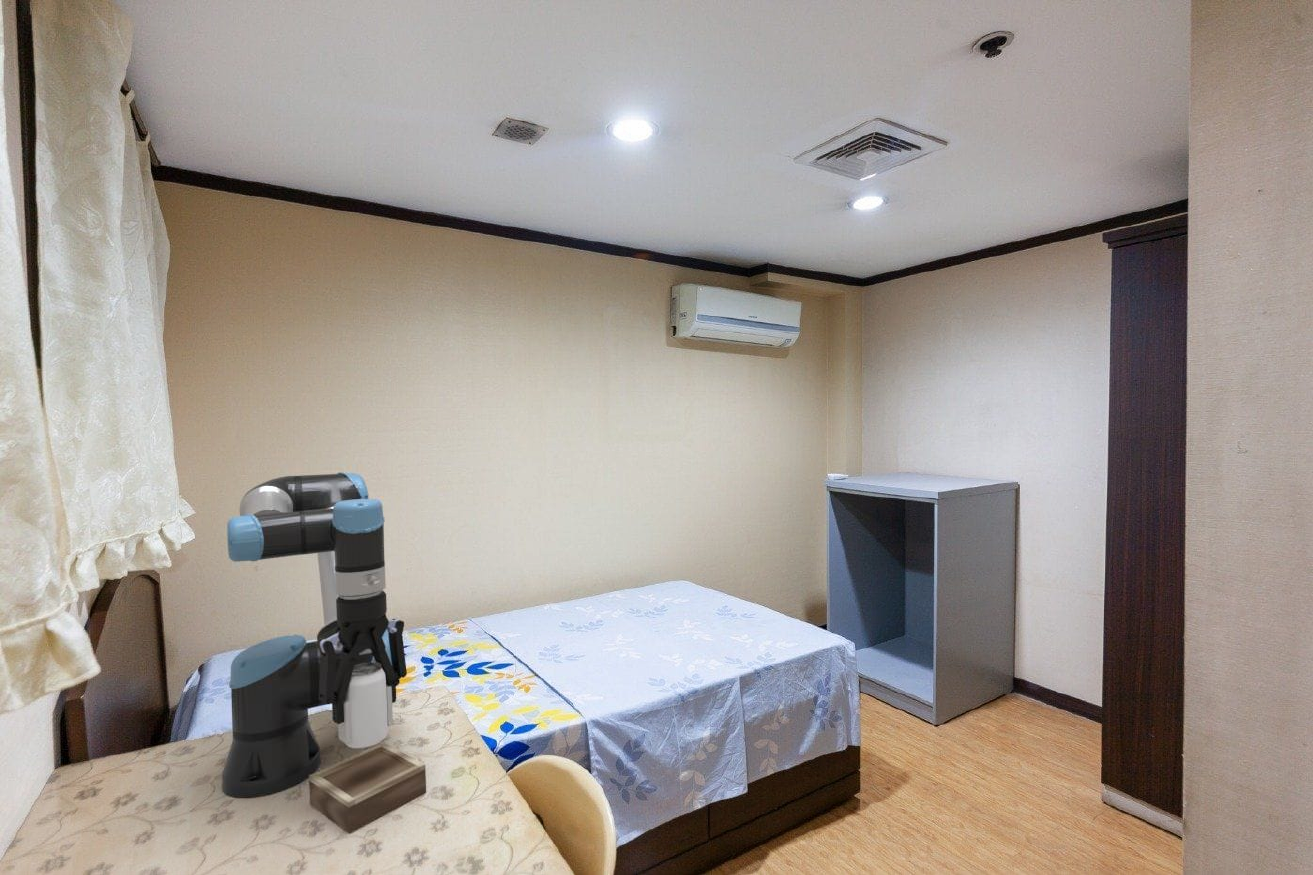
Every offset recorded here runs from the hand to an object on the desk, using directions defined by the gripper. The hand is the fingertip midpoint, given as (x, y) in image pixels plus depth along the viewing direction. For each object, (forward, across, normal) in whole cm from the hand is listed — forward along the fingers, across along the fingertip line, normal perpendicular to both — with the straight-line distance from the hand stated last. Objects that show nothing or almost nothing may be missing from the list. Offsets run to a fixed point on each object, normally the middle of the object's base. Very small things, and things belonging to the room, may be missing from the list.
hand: (366, 731), depth 105 cm
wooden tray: (+11, 0, 0) cm, 11 cm away
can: (+2, 0, 0) cm, 2 cm away
